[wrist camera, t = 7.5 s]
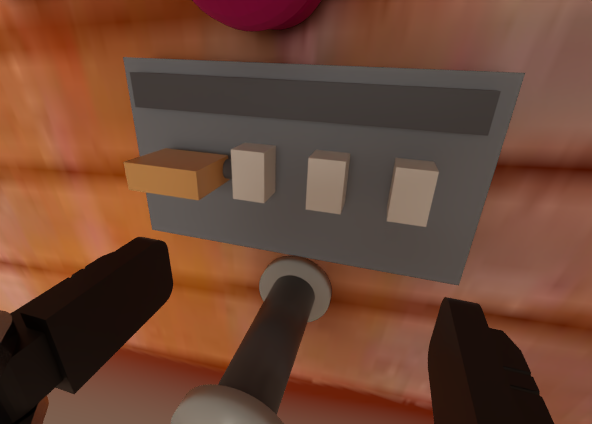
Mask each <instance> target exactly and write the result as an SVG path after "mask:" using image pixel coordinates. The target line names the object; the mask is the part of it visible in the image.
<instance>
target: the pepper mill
mask: <svg viewBox="0 0 592 424" xmlns="http://www.w3.org/2000/svg"><path fill="white" fill-rule="evenodd" d="M192 1H193V2H194V3H195V4H196V5H197V6H198V7H199V8H200V9H201V10H202V11H203V12H205V13H206V14H208V15H209V16H210V17H212V18H214V19H216V20H217V21H219V22H221V23H223V24H225V25H227V26H230V27H232V28H235V29H238V30H243V31H262V30H267V29H272V30H282V29H286V28H290V27H293V26H295V25H297V24H299V23H301V22H302V21H304V20H305V19H306V18H307V17H309V16H310V15H311V14H312V12H313V11H314V10H315V9H316V8H317V6H318V5H319V3H320V1H321V0H192Z"/></svg>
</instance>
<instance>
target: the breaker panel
mask: <svg viewBox="0 0 592 424" xmlns="http://www.w3.org/2000/svg"><path fill="white" fill-rule="evenodd" d="M123 60H124V65H125V71H126V77H127V83H128V89H129V95H130V101H131V107H132V113H133V119H134V124H135V130H136V136H137V142H138V148H139V154H140V156H143V155H147V154H150V153H153V152H156V151H159V150H162V149H165V148H168V149H177V150H186V151H195V152H204V153H213V154H222V155H228V159H231V166H232V179H229V181H227V182H226V183H224V184H223V185H221V186H220V187H218V188H217V189H215V190H214V191H212V192H211V193H209V194H208V195H206V196H205V197H203V198H202V199H200V200H193V199H186V198H179V197H173V196H166V195H160V194H153V193H147V192H146V195H147V201H148V207H149V213H150V219H151V225H152V230H158V231H163V232H168V233H174V234H179V235H185V236H190V237H196V238H201V239H207V240H212V241H218V242H223V243H229V244H234V245H240V246H245V247H251V248H256V249H262V250H267V251H273V252H278V253H284V254H289V255H295V256H300V257H306V258H311V259H317V260H322V261H328V262H333V263H339V264H344V265H350V266H355V267H360V268H366V269H371V270H377V271H382V272H388V273H393V274H399V275H404V276H410V277H415V278H421V279H426V280H432V281H437V282H443V283H448V284H454V285H459V283H460V280H461V277H462V273H463V270H464V267H465V264H466V261H467V257H468V254H469V251H470V248H471V245H472V241H473V238H474V235H475V232H476V229H477V225H478V222H479V219H480V216H481V213H482V209H483V206H484V203H485V200H486V197H487V193H488V190H489V187H490V184H491V181H492V177H493V174H494V171H495V168H496V165H497V161H498V158H499V155H500V152H501V149H502V145H503V142H504V139H505V136H506V133H507V129H508V126H509V123H510V120H511V117H512V113H513V110H514V107H515V104H516V101H517V97H518V94H519V91H520V88H521V85H522V81H523V78H524V75H525V73H512V72H487V71H461V70H436V69H410V68H384V67H359V66H333V65H307V64H282V63H256V62H230V61H205V60H179V59H153V58H128V57H123Z"/></svg>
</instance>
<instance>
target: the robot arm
mask: <svg viewBox="0 0 592 424" xmlns="http://www.w3.org/2000/svg"><path fill="white" fill-rule="evenodd" d="M172 289H173V279H172V272H171V266H170V259H169V253H168V247H167V245H166V243H165V242H164V241H160V240H155V239H150V238H145V237H137V238H135V239H133V240H132V241H130V242H129V243H127V244H126V245H124V246H122V247H121V248H119V249H118V250H116V251H115V252H112V253H109V254H107V255H104V256H102V257H100V258H98V259H97V260H95V261H94V262H92V263H90V264H89V265H87V266H86V267H85V269H81V270H79V271H78V272H76V273H74V274H73V275H72V277H71V278H66V279H65V280H63V281H62V282H60V283H59V284H57V285H55V286H54V287H52V288H51V289H49V290H47V291H46V292H44V293H43V294H41V295H39V296H38V297H36V298H35V299H33V300H31V301H30V302H28V303H27V304H25V305H24V306H22V307H20V308H19V309H17V310H16V311H14V312H12V313H8V312H6V311H0V424H43V420H44V417H45V415H46V412H47V408H48V404H49V401H48V397H47V394H49V393H50V392H51V391H52V390H53V389H54V388H55V387H56V388H58V389H61V390H64V391H67V392H70V393H72V394H75V393H76V392H77V391H78V390H79V389H80V388H81V387H82V386H83V385H84V384H85V383H86V382H87V381H88V380H89V379H90V378H91V377H92V376H93V375H94V374H95V373H96V372H97V371H98V370H99V369H100V368H101V367H102V366H103V365H104V364H105V363H106V362H107V361H108V360H109V359H110V358H111V357H112V356H113V355H114V354H115V353H116V352H117V351H118V350H119V349H120V348H121V347H122V346H123V345H124V344H125V343H126V342H127V341H128V340H129V339H130V338H131V337H132V336H133V335H134V334H135V333H136V332H137V331H138V330H139V329H140V328H141V327H142V326H143V325H144V324H145V323H146V322H147V321H148V320H149V319H150V318H151V317H152V316H153V315H154V314H155V313H156V312H157V311H158V310H159V309H160V308H161V307H162V306H163V305H164V304H165V303H166V301H167V300H168V299H169V297H170V295H171V292H172ZM428 372H429V381H430V390H431V398H432V407H433V416H434V424H554V422H553V420H552V418H551V416H550V413H549V411H548V409H547V407H546V405H545V402H544V400H543V398H542V397H541V396H540V395H539V392H540V391H539V389H538V387H537V385H536V383H535V380H534V378H533V377H531V372H530V369H529V367H528V365H527V363H526V361H525V358H524V356H523V354H522V352H521V350H520V349H519V348H518V347H517V346H516V345H515V344H514V343H513V341H512V340H511V339H510V338H509V337H508V336H507V335H506V334H505V333H504V332H503V331H501V330H497V329H492V328H489V327H488V324H487V321H486V319H485V316H484V313H483V311H482V308H481V306H480V305H479V304H477V303H472V302H467V301H462V300H457V299H452V298H447V297H445V298H444V299H443V301H442V303H441V306H440V310H439V313H438V317H437V320H436V324H435V327H434V330H433V334H432V337H431V341H430V345H429V351H428Z"/></svg>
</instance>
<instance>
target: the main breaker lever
mask: <svg viewBox="0 0 592 424" xmlns="http://www.w3.org/2000/svg"><path fill="white" fill-rule="evenodd" d="M124 167H125V172H126V177H127V182H128V188H129V190H133V191H140V192H147V193H153V194H160V195H166V196H173V197H179V198H186V199H193V200H200V199H202V198H203V197H205V196H206V195H208V194H209V193H211V192H212V191H214V190H215V189H217V188H218V187H220V186H221V185H223V184H224V183H226V182H227V181H229V179H232V166H231V159H228V155H222V154H213V153H204V152H195V151H186V150H177V149H168V148H165V149H162V150H159V151H156V152H153V153H150V154H147V155H143V156H140V157H137V158H134V159H131V160H128V161H125V162H124Z"/></svg>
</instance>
